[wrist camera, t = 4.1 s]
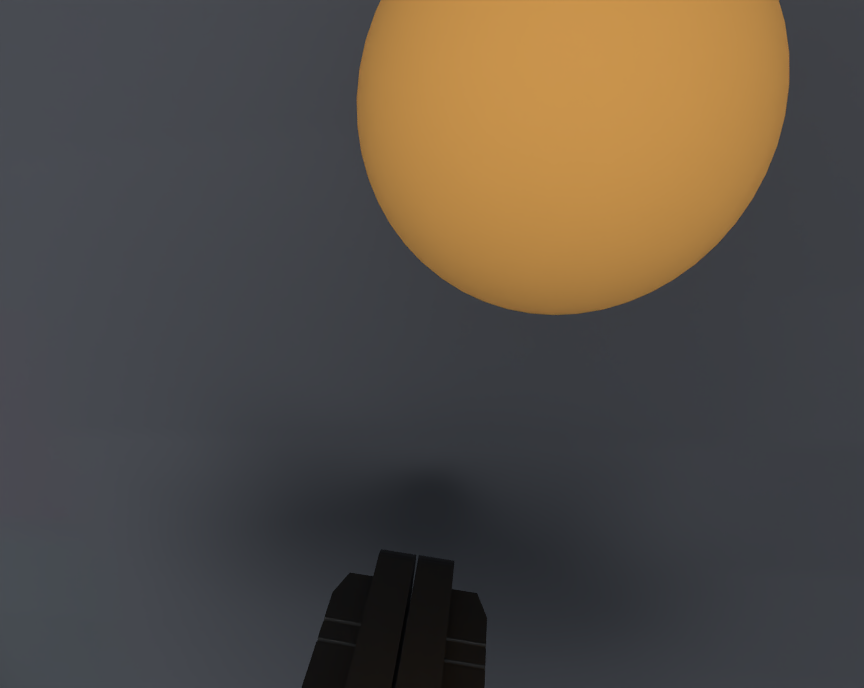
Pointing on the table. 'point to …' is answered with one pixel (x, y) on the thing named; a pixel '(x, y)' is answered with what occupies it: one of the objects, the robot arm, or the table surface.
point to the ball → (569, 138)
